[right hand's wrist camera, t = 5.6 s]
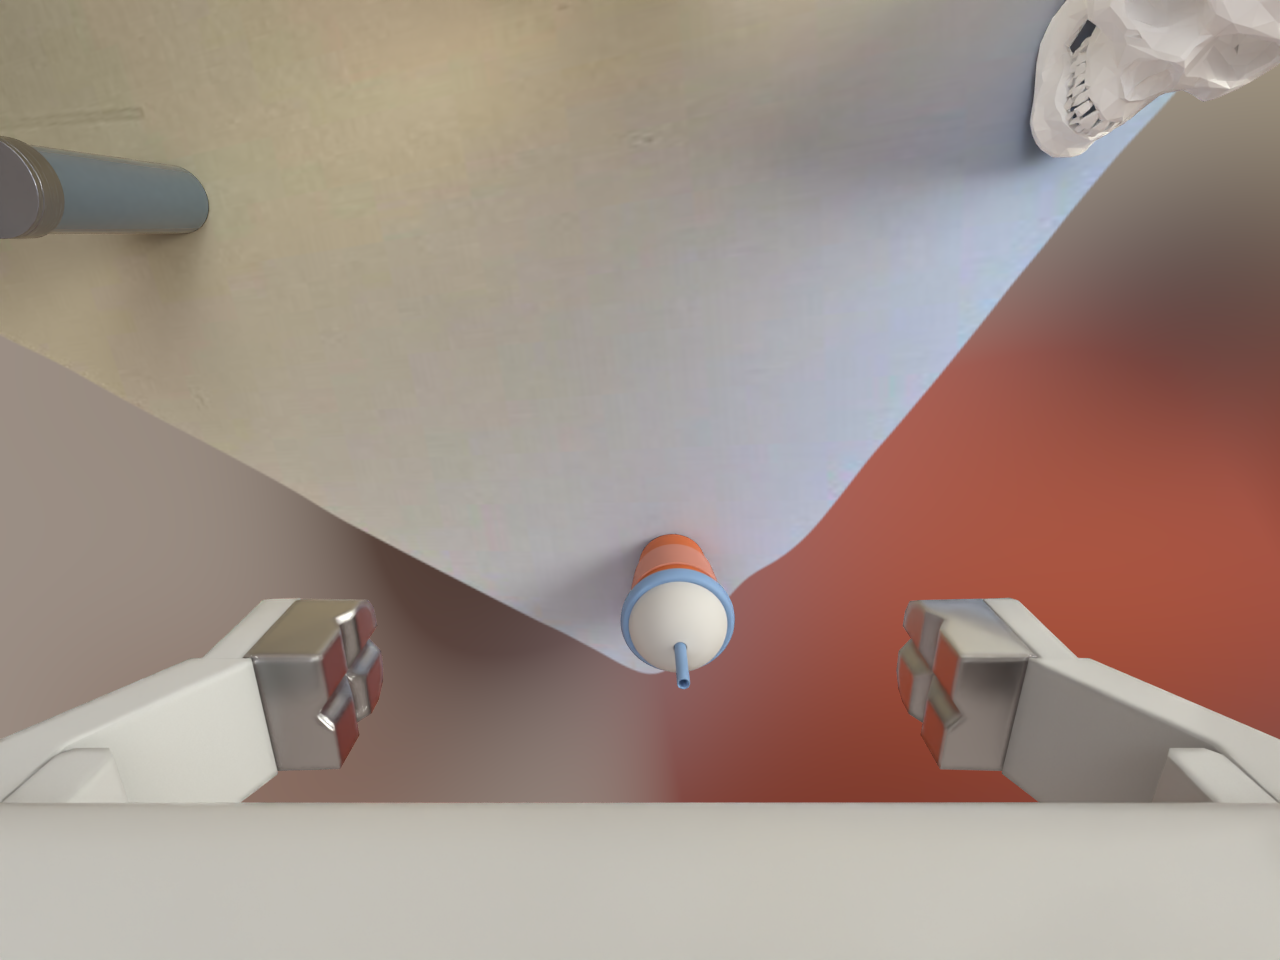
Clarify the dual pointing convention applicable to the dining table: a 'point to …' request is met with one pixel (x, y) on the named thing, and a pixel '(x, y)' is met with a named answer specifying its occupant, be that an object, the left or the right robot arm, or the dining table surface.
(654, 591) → the cup with straw
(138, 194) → the bottle
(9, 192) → the lid
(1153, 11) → the skull
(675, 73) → the dining table surface
